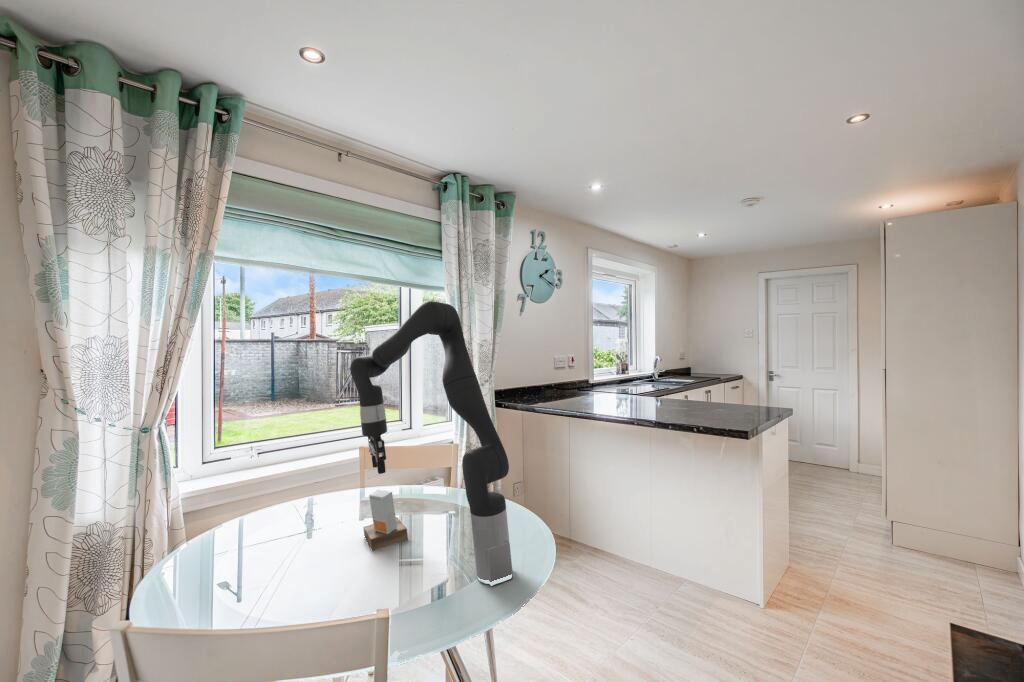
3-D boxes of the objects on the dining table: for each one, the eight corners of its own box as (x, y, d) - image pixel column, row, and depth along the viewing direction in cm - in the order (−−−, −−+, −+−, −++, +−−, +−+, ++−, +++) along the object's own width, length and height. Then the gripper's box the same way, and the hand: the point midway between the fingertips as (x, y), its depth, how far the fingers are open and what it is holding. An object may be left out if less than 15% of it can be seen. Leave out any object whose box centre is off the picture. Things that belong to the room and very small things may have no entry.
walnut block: (408, 540, 143) (406, 528, 143) (372, 552, 137) (370, 539, 137) (398, 528, 152) (397, 517, 152) (364, 539, 147) (363, 526, 147)
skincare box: (373, 531, 142) (368, 494, 141) (383, 524, 146) (378, 488, 145) (388, 534, 139) (382, 497, 138) (397, 527, 143) (392, 491, 142)
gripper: (390, 419, 138) (396, 472, 139) (380, 414, 151) (386, 462, 152) (365, 424, 135) (371, 478, 136) (357, 418, 148) (362, 467, 148)
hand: (379, 469), depth 144 cm, fingers open, 8 cm apart
